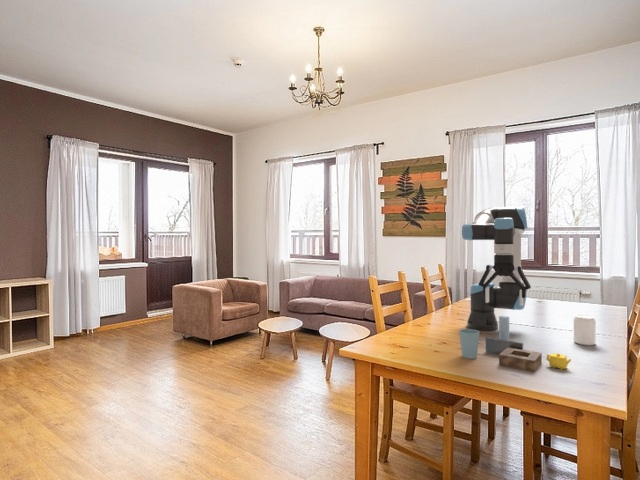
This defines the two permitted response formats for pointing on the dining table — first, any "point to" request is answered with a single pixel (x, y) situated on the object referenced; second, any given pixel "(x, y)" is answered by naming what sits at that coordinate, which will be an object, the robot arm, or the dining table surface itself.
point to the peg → (504, 328)
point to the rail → (500, 345)
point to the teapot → (558, 361)
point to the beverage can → (584, 330)
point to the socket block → (520, 359)
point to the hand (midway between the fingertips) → (503, 304)
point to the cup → (469, 343)
